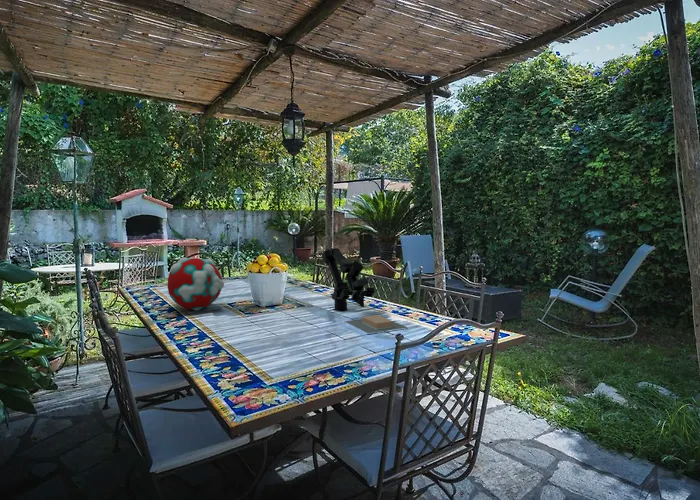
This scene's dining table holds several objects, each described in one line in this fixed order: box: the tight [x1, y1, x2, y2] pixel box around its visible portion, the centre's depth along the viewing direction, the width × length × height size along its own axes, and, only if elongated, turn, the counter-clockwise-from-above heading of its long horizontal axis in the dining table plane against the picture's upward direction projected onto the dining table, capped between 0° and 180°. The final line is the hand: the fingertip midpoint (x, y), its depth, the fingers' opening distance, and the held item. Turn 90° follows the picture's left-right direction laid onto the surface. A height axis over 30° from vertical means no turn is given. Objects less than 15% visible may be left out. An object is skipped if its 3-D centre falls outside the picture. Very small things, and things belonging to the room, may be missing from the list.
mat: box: [344, 318, 409, 336], centre depth 203 cm, size 24×22×1 cm
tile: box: [361, 314, 393, 330], centre depth 201 cm, size 3×9×14 cm
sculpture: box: [166, 257, 225, 311], centre depth 237 cm, size 32×30×30 cm
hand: (363, 306), depth 214 cm, fingers closed
